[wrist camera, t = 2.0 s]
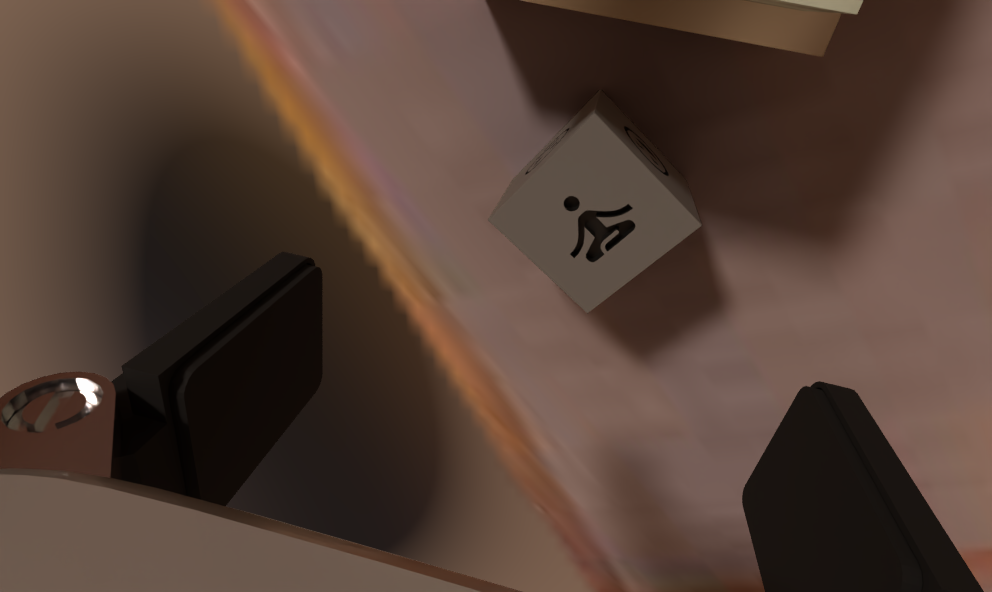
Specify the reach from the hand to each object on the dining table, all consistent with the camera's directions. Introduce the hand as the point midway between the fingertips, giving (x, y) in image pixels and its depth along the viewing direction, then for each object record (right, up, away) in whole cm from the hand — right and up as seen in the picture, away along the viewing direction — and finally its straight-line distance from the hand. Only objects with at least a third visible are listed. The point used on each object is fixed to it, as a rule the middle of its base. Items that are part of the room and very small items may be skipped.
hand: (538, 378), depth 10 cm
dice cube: (+3, +7, +12) cm, 14 cm away
